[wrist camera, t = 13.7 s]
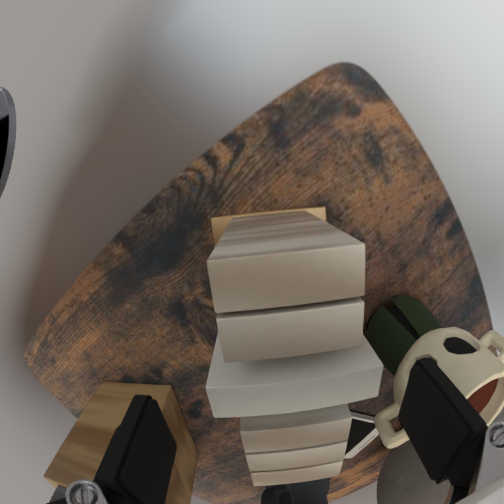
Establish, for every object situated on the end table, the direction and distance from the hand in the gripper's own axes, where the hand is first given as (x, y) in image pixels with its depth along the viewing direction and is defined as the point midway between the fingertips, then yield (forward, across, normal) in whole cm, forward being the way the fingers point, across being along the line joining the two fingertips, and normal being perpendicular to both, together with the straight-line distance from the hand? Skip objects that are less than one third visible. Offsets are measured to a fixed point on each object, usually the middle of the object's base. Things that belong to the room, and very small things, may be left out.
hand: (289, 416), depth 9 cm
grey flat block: (+12, -1, 0) cm, 12 cm away
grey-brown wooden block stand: (+13, -1, +1) cm, 13 cm away
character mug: (+13, -11, +5) cm, 18 cm away
